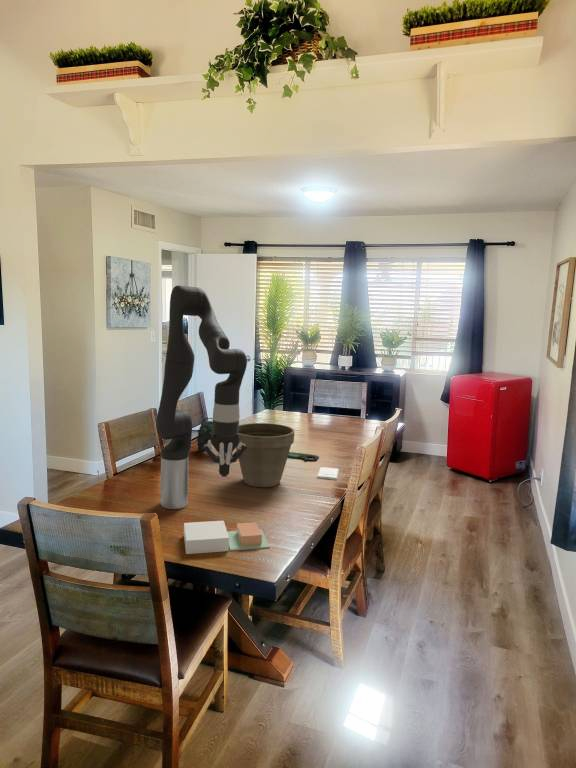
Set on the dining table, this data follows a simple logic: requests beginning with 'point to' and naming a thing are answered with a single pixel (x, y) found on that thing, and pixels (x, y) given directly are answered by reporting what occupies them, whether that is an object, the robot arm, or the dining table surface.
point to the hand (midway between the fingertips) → (223, 475)
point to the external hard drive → (328, 473)
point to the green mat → (235, 545)
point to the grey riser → (205, 537)
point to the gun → (303, 456)
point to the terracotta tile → (249, 534)
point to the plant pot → (264, 452)
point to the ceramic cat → (205, 434)
